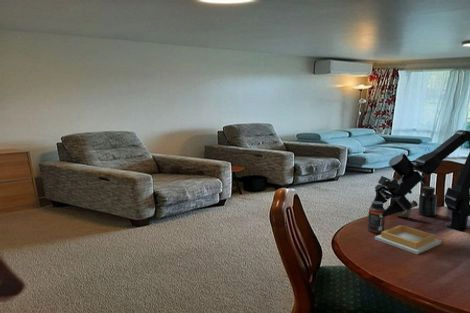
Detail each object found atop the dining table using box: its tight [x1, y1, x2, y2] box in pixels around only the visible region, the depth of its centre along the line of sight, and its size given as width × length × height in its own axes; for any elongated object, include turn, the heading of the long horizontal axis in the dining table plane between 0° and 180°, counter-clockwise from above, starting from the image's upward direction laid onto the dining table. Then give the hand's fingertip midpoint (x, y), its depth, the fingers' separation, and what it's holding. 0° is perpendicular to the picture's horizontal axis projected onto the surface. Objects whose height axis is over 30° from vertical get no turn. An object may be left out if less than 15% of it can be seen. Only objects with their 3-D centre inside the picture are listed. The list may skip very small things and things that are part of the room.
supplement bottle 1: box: [367, 200, 386, 234], centre depth 147 cm, size 6×6×11 cm
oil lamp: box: [395, 200, 419, 218], centre depth 163 cm, size 9×4×8 cm, turn 60°
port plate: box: [374, 224, 442, 255], centre depth 137 cm, size 16×16×3 cm
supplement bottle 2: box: [417, 186, 438, 217], centre depth 167 cm, size 7×7×12 cm
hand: (376, 212), depth 147 cm, fingers open, 9 cm apart
